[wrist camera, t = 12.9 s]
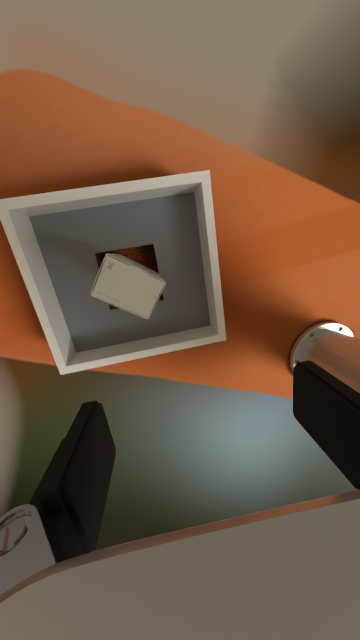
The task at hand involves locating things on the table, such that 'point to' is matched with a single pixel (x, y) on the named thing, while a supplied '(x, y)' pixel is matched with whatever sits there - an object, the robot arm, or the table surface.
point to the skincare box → (128, 285)
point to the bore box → (112, 235)
